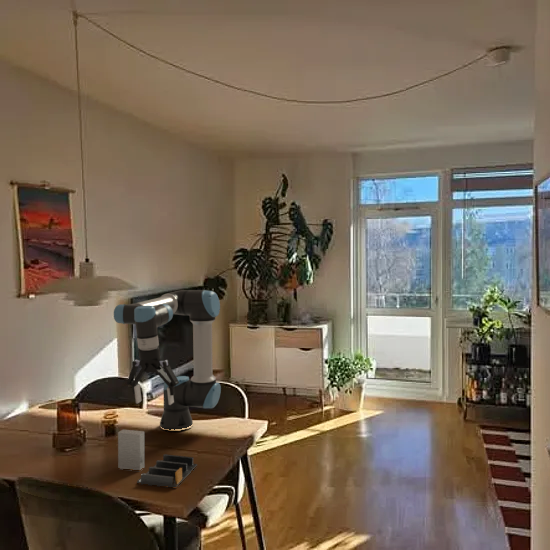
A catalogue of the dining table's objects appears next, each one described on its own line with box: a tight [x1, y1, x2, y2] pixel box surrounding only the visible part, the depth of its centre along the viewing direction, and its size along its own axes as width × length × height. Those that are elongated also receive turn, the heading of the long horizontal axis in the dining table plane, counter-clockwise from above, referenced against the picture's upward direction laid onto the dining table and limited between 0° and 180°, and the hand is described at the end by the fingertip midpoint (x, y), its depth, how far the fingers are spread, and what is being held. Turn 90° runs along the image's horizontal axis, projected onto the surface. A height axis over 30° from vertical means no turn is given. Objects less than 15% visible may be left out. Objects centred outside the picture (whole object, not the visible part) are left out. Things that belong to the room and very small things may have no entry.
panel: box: [117, 429, 145, 471], centre depth 199 cm, size 4×9×14 cm, turn 77°
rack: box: [136, 453, 198, 488], centre depth 193 cm, size 19×15×5 cm
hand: (154, 402), depth 196 cm, fingers open, 13 cm apart
